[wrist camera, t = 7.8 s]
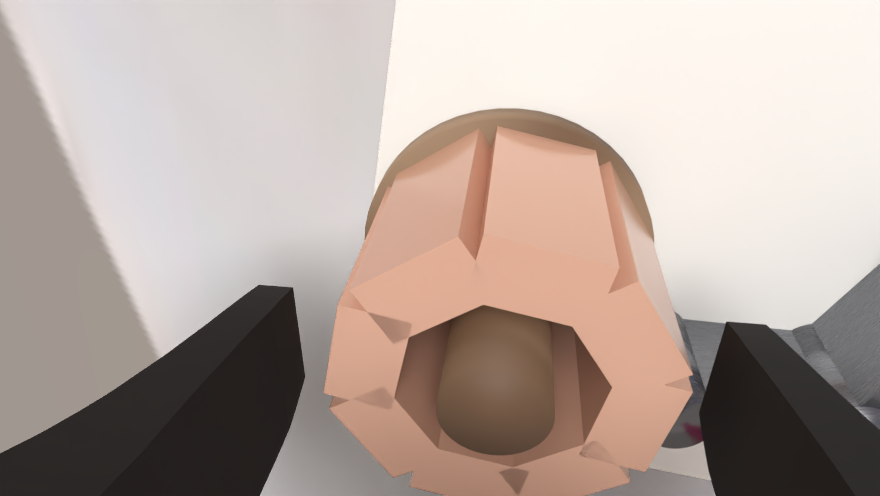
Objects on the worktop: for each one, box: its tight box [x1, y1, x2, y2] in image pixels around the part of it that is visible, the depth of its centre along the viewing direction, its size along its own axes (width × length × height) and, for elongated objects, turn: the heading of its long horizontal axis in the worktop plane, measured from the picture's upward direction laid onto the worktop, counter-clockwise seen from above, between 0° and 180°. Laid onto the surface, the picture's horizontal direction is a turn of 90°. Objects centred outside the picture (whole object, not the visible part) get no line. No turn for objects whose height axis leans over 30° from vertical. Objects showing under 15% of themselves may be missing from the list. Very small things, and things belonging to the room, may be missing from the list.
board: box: [373, 0, 880, 481], centre depth 13 cm, size 15×16×1 cm
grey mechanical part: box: [661, 264, 880, 449], centre depth 13 cm, size 6×5×3 cm
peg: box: [365, 108, 654, 456], centre depth 12 cm, size 6×6×5 cm
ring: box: [324, 126, 693, 496], centre depth 12 cm, size 6×6×4 cm
